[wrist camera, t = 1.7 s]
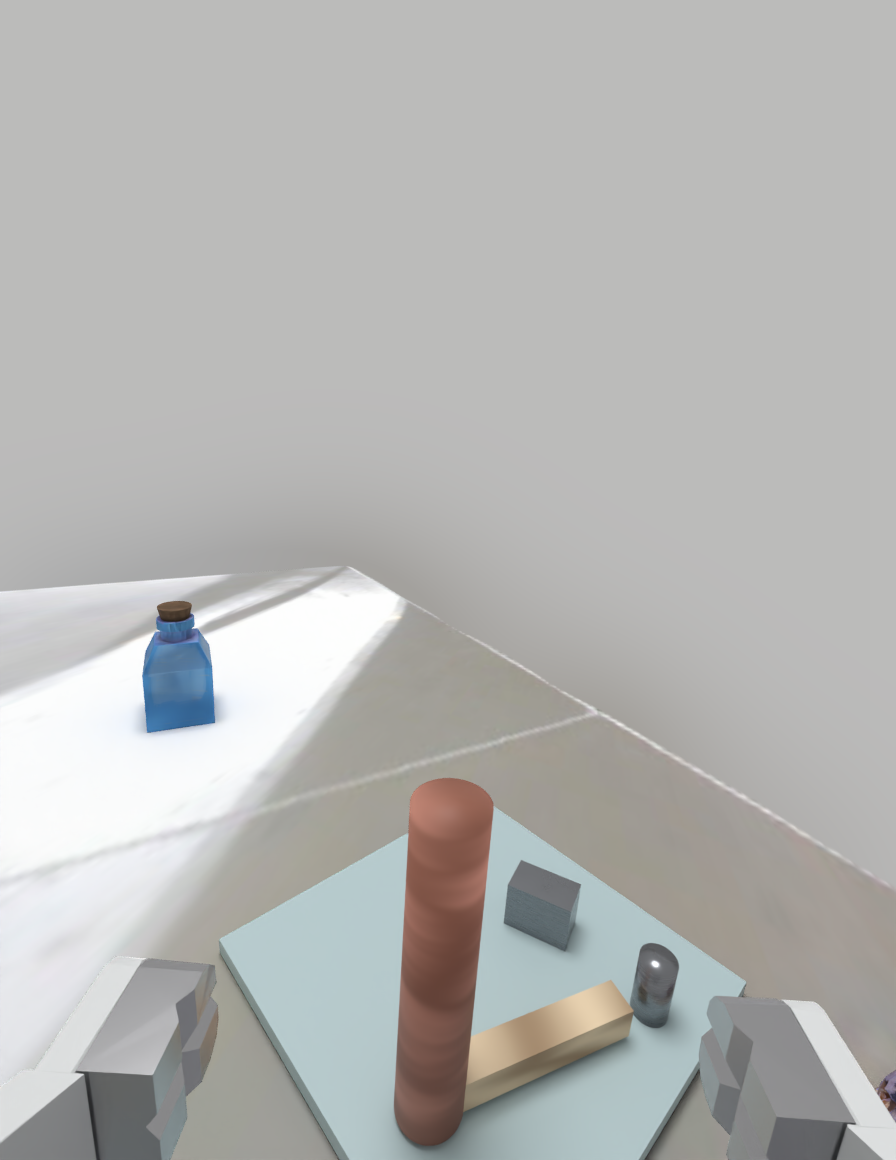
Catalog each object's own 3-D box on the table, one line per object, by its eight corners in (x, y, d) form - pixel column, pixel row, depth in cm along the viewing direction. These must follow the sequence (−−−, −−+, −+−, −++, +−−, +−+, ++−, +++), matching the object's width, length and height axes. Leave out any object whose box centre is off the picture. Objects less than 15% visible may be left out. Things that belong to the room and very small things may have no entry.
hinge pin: (620, 1021, 31) (632, 957, 30) (638, 998, 33) (650, 936, 31) (653, 1050, 30) (668, 984, 29) (671, 1025, 31) (685, 961, 30)
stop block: (503, 923, 36) (507, 884, 35) (516, 897, 38) (520, 859, 37) (565, 951, 34) (571, 911, 33) (575, 922, 36) (581, 884, 35)
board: (219, 952, 34) (219, 939, 33) (475, 804, 48) (476, 794, 48) (489, 1418, 18) (491, 1400, 18) (743, 995, 33) (746, 982, 33)
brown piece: (598, 992, 32) (643, 737, 27) (638, 1049, 29) (694, 775, 24) (385, 1080, 27) (399, 786, 22) (407, 1159, 24) (428, 841, 20)
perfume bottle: (147, 732, 56) (137, 618, 53) (150, 704, 61) (141, 598, 58) (214, 722, 58) (209, 613, 55) (211, 696, 64) (206, 594, 61)
